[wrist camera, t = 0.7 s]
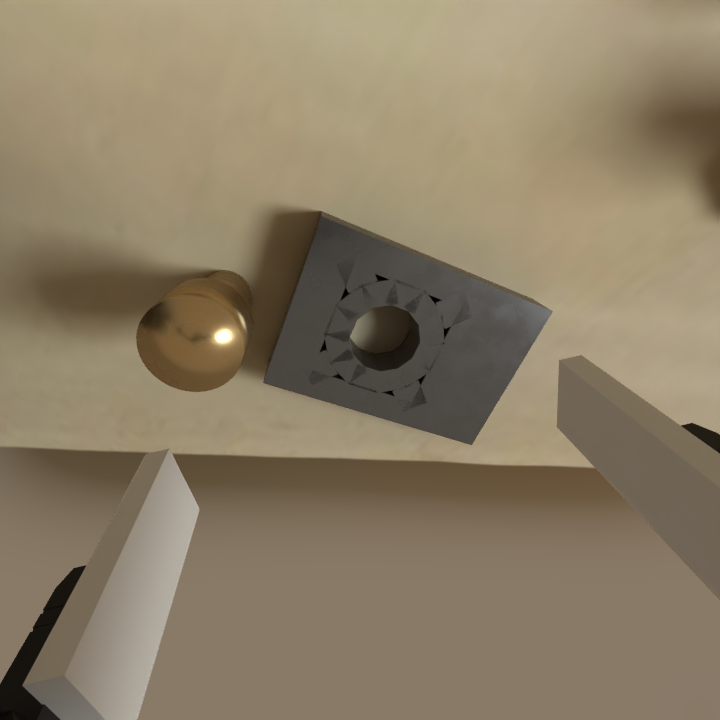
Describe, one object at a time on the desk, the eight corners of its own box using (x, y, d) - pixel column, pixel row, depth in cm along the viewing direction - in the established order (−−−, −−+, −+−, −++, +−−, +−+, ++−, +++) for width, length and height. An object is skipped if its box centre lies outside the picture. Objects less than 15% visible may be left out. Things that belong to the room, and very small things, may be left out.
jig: (267, 364, 37) (263, 382, 34) (321, 211, 32) (322, 216, 29) (459, 424, 42) (471, 445, 39) (532, 298, 37) (552, 311, 34)
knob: (181, 314, 35) (127, 374, 25) (198, 246, 33) (147, 282, 23) (251, 337, 36) (228, 403, 26) (272, 273, 34) (255, 318, 24)
